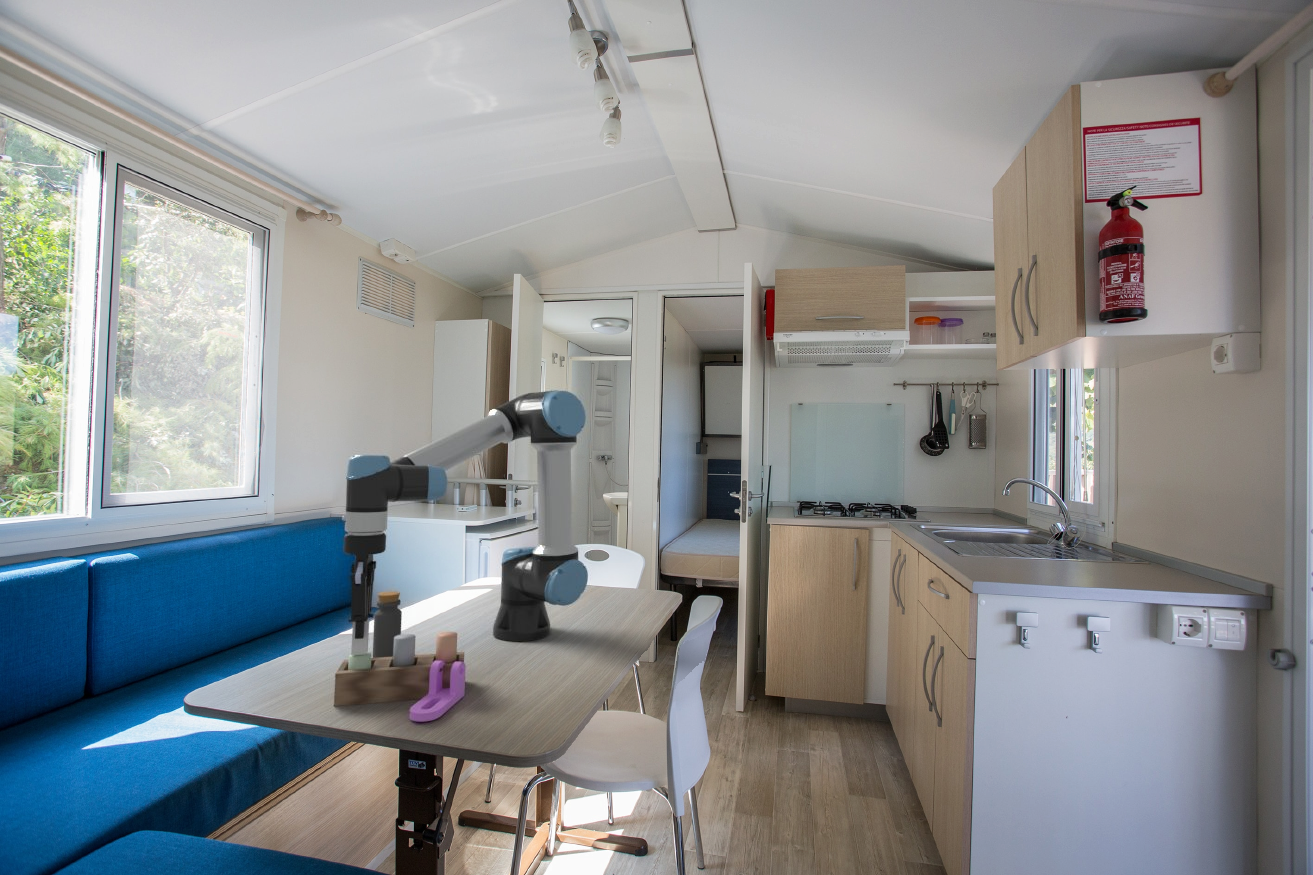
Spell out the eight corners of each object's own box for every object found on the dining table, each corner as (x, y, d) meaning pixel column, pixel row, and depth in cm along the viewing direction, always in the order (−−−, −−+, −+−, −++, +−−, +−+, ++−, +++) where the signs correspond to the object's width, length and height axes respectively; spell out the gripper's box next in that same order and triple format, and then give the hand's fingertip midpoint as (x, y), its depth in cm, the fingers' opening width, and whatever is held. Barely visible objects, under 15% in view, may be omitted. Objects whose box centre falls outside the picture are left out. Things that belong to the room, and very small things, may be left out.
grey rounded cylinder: (415, 665, 122) (416, 633, 122) (413, 672, 118) (414, 639, 118) (393, 667, 120) (395, 634, 121) (391, 673, 117) (392, 640, 117)
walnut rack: (463, 680, 126) (464, 651, 126) (462, 694, 118) (463, 664, 119) (342, 690, 119) (344, 659, 120) (333, 706, 112) (335, 673, 112)
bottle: (389, 663, 135) (392, 596, 136) (366, 660, 137) (369, 594, 137) (405, 654, 141) (407, 591, 142) (383, 652, 142) (386, 589, 143)
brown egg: (456, 662, 124) (457, 631, 124) (455, 669, 120) (457, 636, 120) (436, 664, 123) (437, 632, 123) (434, 670, 119) (436, 637, 119)
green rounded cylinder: (371, 683, 119) (373, 650, 119) (368, 691, 115) (369, 657, 116) (349, 685, 118) (350, 652, 118) (345, 692, 114) (346, 658, 114)
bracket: (437, 693, 118) (438, 657, 119) (464, 695, 118) (465, 659, 118) (403, 720, 106) (405, 680, 106) (433, 722, 105) (435, 681, 105)
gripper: (351, 528, 123) (345, 644, 122) (337, 537, 110) (330, 665, 109) (390, 528, 125) (385, 642, 124) (381, 536, 113) (375, 663, 112)
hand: (359, 653), depth 117 cm, fingers closed
